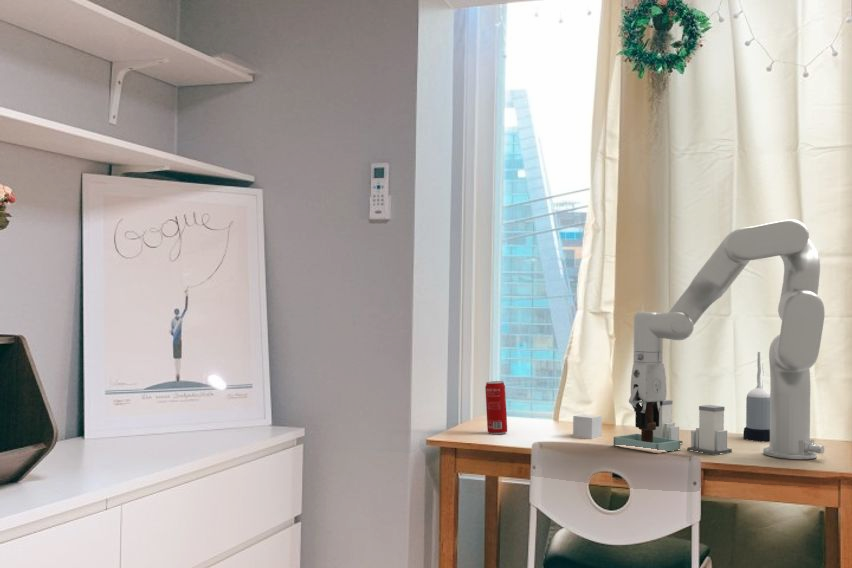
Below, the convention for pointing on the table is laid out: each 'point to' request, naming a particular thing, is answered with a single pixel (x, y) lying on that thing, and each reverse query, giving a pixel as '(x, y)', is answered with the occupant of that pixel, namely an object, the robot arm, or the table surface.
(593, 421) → the light grey cube
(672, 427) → the block
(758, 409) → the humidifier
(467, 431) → the table surface
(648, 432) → the bolt
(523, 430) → the table surface
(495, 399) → the beverage can
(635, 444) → the tray
